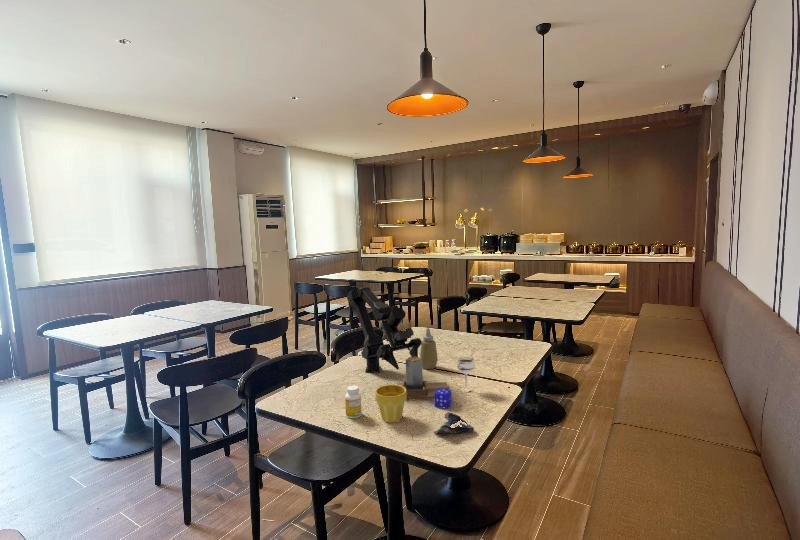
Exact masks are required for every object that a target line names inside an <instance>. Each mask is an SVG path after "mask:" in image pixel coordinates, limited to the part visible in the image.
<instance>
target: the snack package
mask: <svg viewBox="0 0 800 540" xmlns="http://www.w3.org/2000/svg"><path fill="white" fill-rule="evenodd" d="M444 418H445V419H446V420H447V421H446V422H444V423H443V424H442V425H440V427H439V428H438V429H437V430H434V431H433V434H434V435H437V434H438V432H439V434H440V433H441V434H458V433H462V432H465V431H466V432H467V431H471V432H474V428H475V427H474V426H472V425H470V424H468V423H467V422H466V420H464V419H463V418H461V415H458V414H456V413H453V412H449V411H447V412H446V413H444ZM460 420H461V421H462V422H465V423H466V424H467V426H466V425H465V424H462V423H460V425H462V427H460V426H459V425H458V426H457V427H455V428H451V427H450V426H451V425H452V424H455V423H457V422H458V421H460Z"/></svg>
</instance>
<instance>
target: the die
mask: <svg viewBox="0 0 800 540" xmlns="http://www.w3.org/2000/svg"><path fill="white" fill-rule="evenodd" d="M434 397H435V399H434V407H435V406H436V407H435V408H441V407H445V408H444V409H449V408H450V407H451V405H450V404H452V403H451V402H453V401H452V397H453V396H452V389H449V388H448V389H440V388H438V389H437V391H436V392H435V393H434ZM449 406H450V407H449Z"/></svg>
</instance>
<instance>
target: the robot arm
mask: <svg viewBox="0 0 800 540" xmlns="http://www.w3.org/2000/svg"><path fill="white" fill-rule="evenodd" d="M346 300H347V301H348V303H349V305H350V307H352V308H353V309H354V310H355V311H356V315H357V318H358V321H359V323H360V327H361V329H362V332H363V335H364V342H363V349H362V350H361V353H360V354H361V358H364V359H365V360H366V367H365V371H364V372H365V373H380V372H381V369H382V368H381V367H382V366H381V365H380V359H381V360H384V361H386V362H387V363H388V364H390V365H391V366H392V367H394V369H396V370H399V369H400V366H399V363H398V362H397V360H396V357H395V356H394V352H396V351H401V350H406V349H407V350H408V353H409V355H410V357H413V356H416V357H419V354H418V353H419V348H421V344H422V341H423V340H422V339H421V338H420V337H415V338H412V336H414V330H413V329H412V327H408V328H406V329H405V330H402V329H401V330H400V329H399V326H400V325H401V324H402V322H403V320H404V319H405V317H406V311H405V310H404V309H403V308H402V307H400V306H398V305H392V306H391V305H389V304H388V303H385V302H382V301H381V300H380V299H379V298H378V297H377V295H375V293H374V292H373V291H372V289H371V288H370V287H368V286H365V287H359V288H357V289H355V290H349V292H348V293H347V294H346ZM367 305H368V306H369V307H370V309H372V316H373V317H374V318H375V320H376V321H377V322H381V321H382V323H381V326H380V328H379V329H380V330H381V331H382V330H383V332H384V334H385V336H386V339H385V341H386V342H388V343H387V344H385V343H384V341H383V338H382V335H381V334H378V335H377V333H376V331H375V329H374V326H373V323H372V320H371V318H370V315H369V312H368V309H367ZM408 339H410V340H409V342H408ZM406 342H408V343H406Z"/></svg>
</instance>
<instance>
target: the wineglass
mask: <svg viewBox="0 0 800 540" xmlns="http://www.w3.org/2000/svg"><path fill="white" fill-rule="evenodd" d="M475 366H476V364H475V358H473V357H469V356H463V357H462V356H461V357H458V358H457V363H456V367H457V369H458V370H459V371H460V372H461V373H463V375H464V381H465V387H464V388H465V389H467V388H468V374H471V373H472V372H473V371H474V369H475Z"/></svg>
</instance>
